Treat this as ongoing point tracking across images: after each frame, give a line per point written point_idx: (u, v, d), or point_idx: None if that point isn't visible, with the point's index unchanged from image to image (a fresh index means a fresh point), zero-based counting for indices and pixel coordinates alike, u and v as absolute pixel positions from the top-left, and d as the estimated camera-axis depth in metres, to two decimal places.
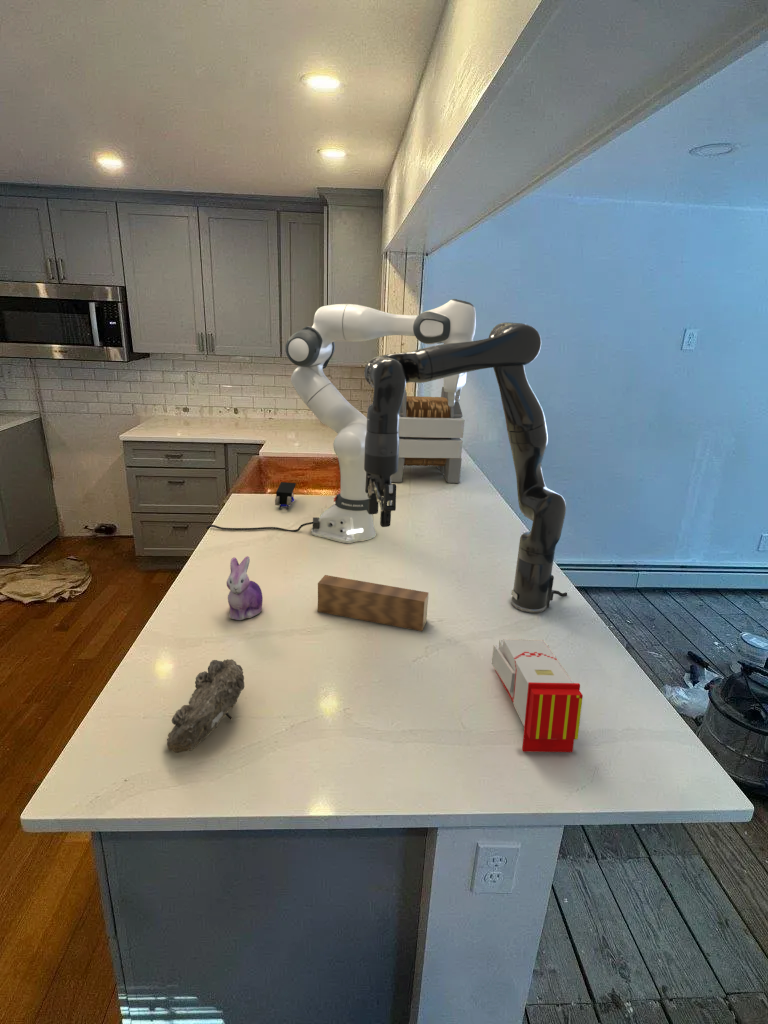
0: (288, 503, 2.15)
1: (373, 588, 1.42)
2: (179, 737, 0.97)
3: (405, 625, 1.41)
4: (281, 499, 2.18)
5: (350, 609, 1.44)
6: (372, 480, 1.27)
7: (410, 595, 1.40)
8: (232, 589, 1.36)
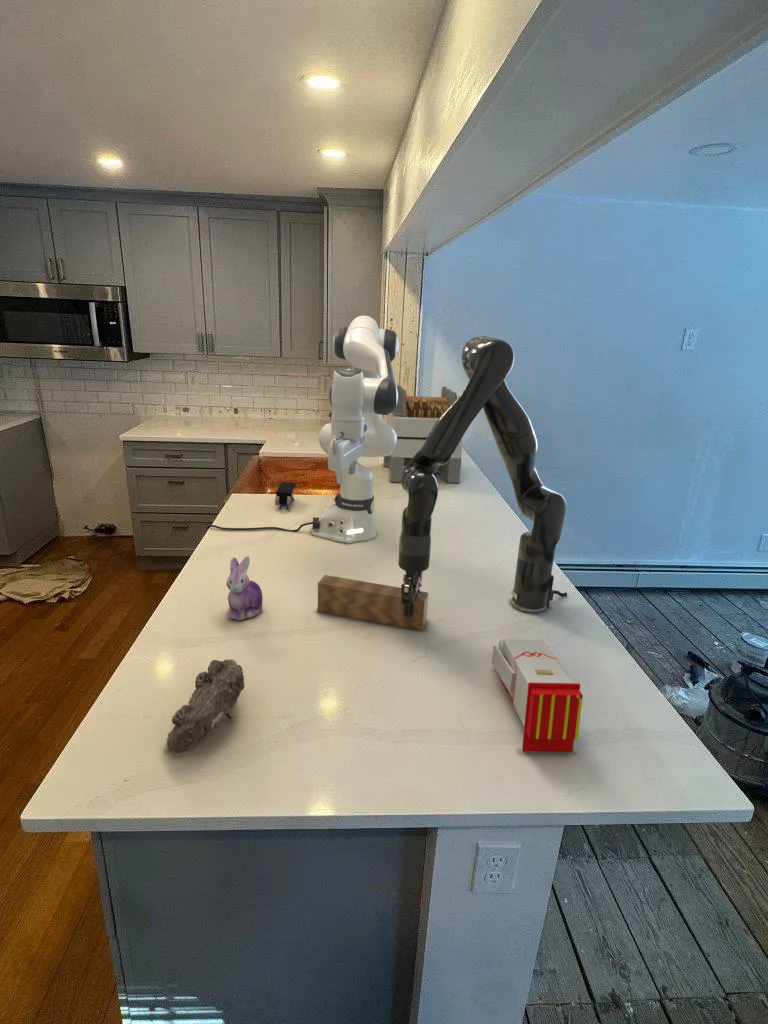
0: (288, 503, 2.15)
1: (373, 588, 1.42)
2: (179, 737, 0.97)
3: (405, 625, 1.41)
4: (281, 499, 2.18)
5: (350, 609, 1.44)
6: None
7: None
8: (232, 589, 1.36)
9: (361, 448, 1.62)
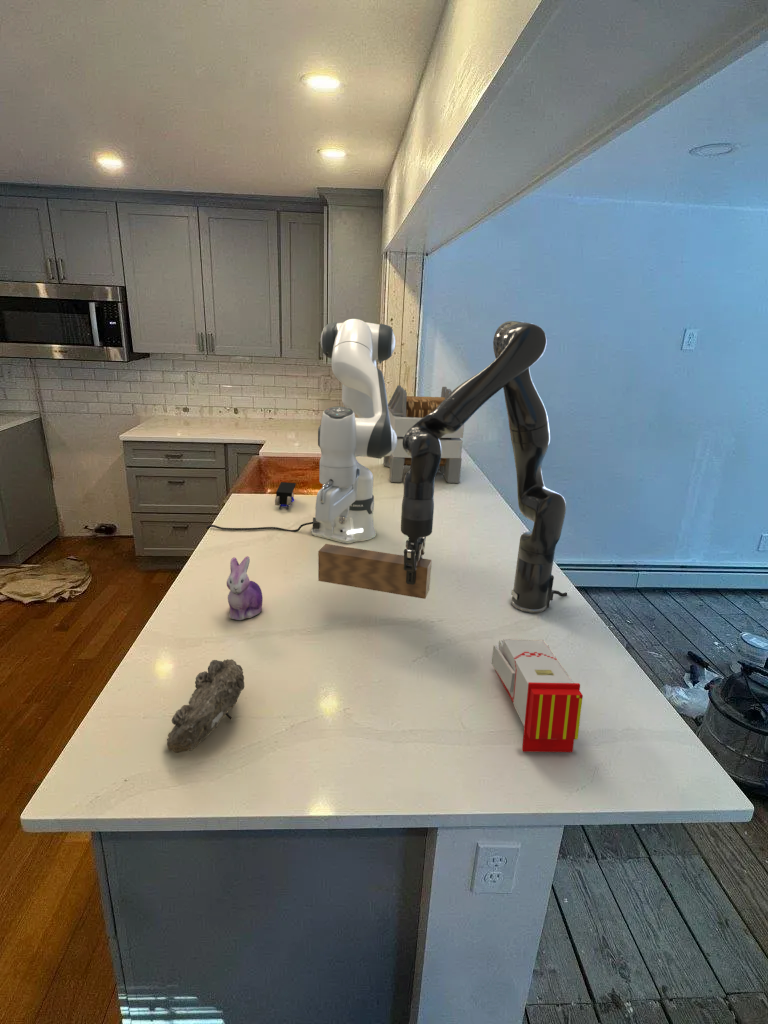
0: (288, 503, 2.15)
1: (375, 556, 1.39)
2: (179, 737, 0.97)
3: (407, 593, 1.38)
4: (281, 499, 2.18)
5: (351, 578, 1.41)
6: None
7: None
8: (232, 589, 1.36)
9: (354, 494, 1.47)
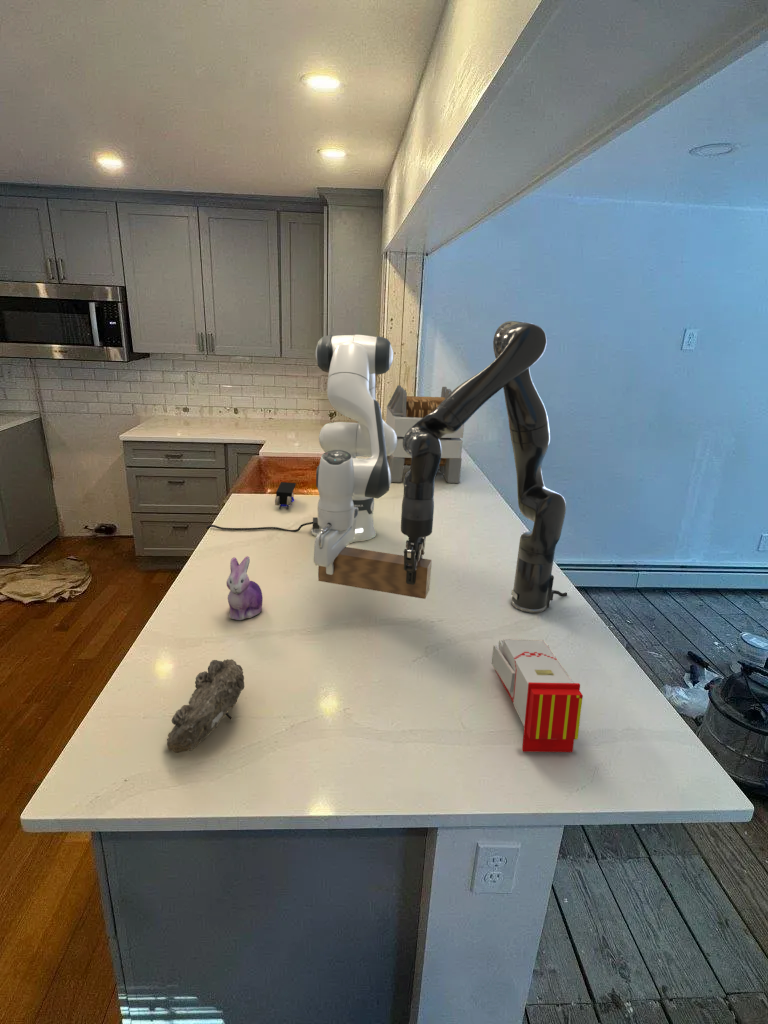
0: (288, 503, 2.15)
1: (375, 556, 1.39)
2: (179, 737, 0.97)
3: (407, 593, 1.38)
4: (281, 499, 2.18)
5: (351, 578, 1.41)
6: None
7: None
8: (232, 589, 1.36)
9: (352, 532, 1.48)
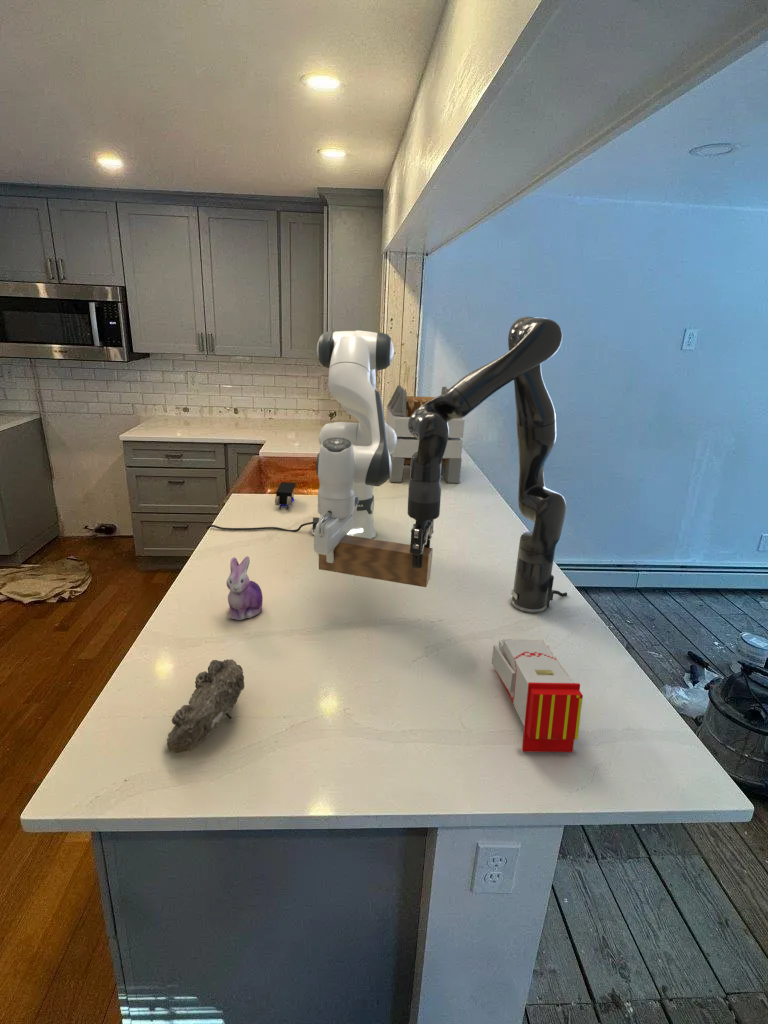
0: (288, 503, 2.15)
1: (375, 544, 1.39)
2: (179, 737, 0.97)
3: (408, 581, 1.37)
4: (281, 499, 2.18)
5: (351, 566, 1.40)
6: None
7: None
8: (232, 589, 1.36)
9: (352, 521, 1.47)
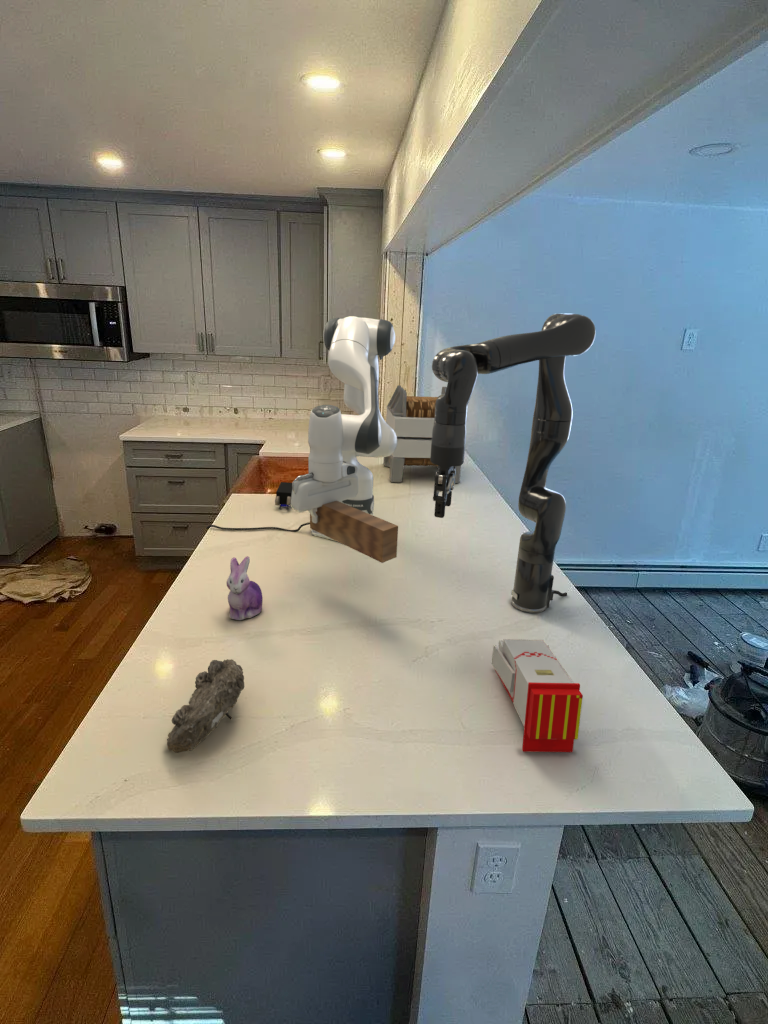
0: (288, 503, 2.15)
1: (351, 512, 1.42)
2: (179, 737, 0.97)
3: (369, 554, 1.37)
4: (281, 499, 2.18)
5: (330, 530, 1.46)
6: (439, 470, 1.29)
7: (378, 523, 1.36)
8: (232, 589, 1.36)
9: (352, 490, 1.53)
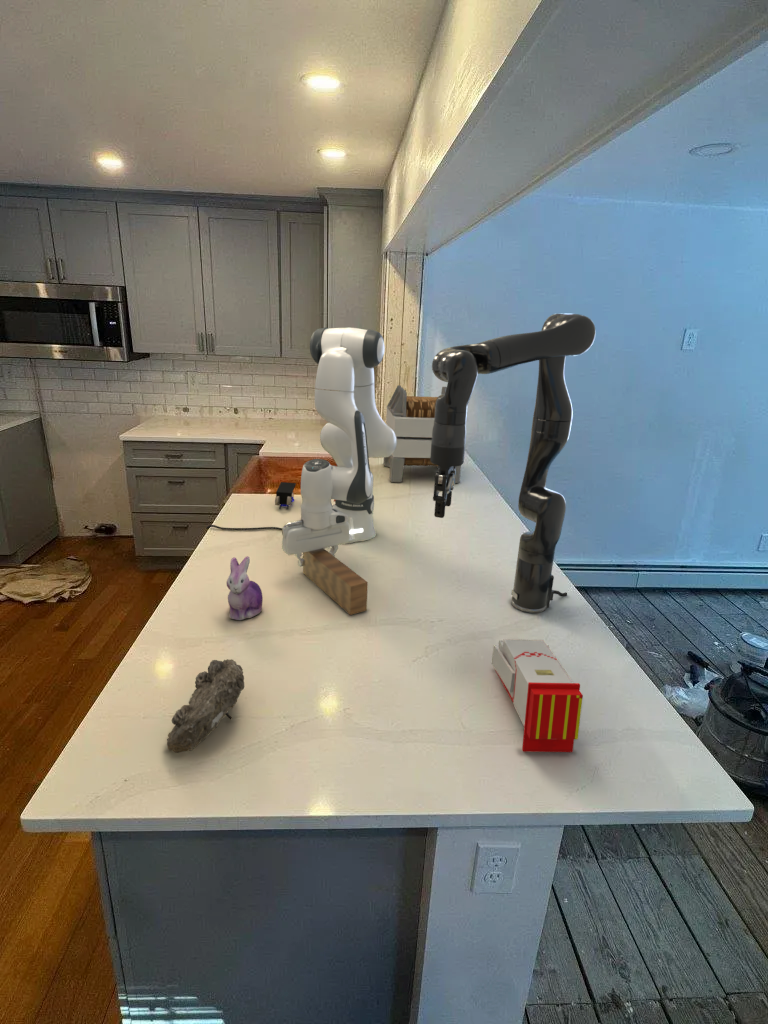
0: (288, 503, 2.15)
1: (332, 564, 1.55)
2: (179, 737, 0.97)
3: (341, 605, 1.49)
4: (281, 499, 2.18)
5: (316, 578, 1.60)
6: (439, 470, 1.29)
7: (350, 578, 1.47)
8: (232, 589, 1.36)
9: (343, 537, 1.64)
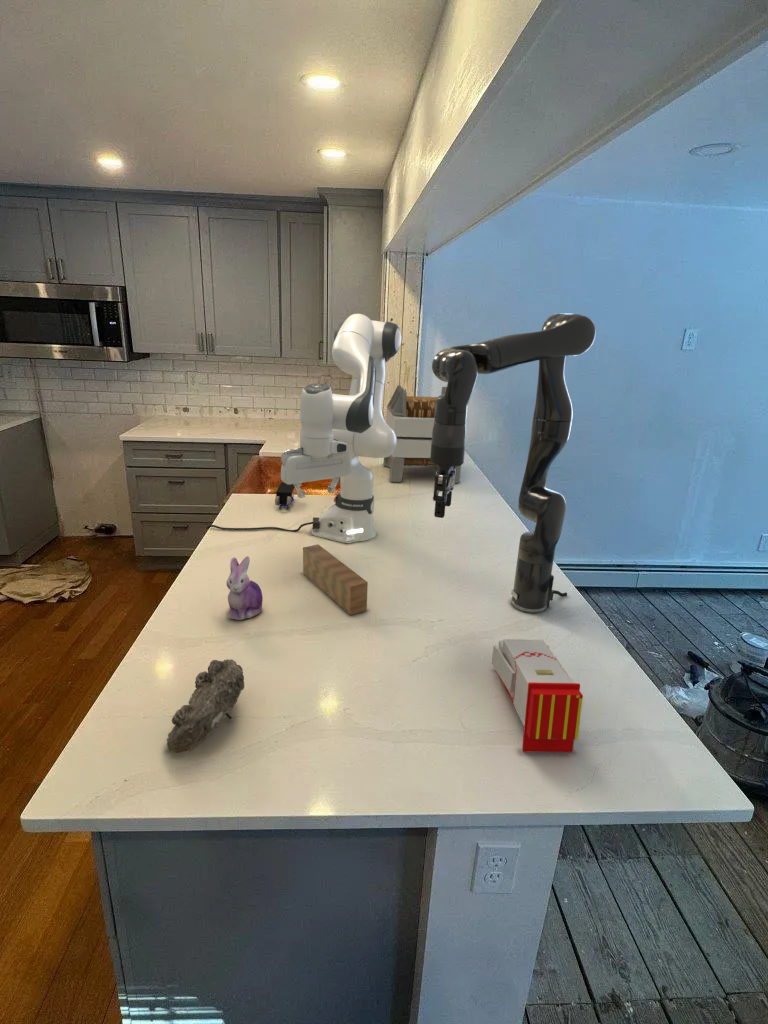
0: (288, 503, 2.15)
1: (332, 564, 1.55)
2: (179, 737, 0.97)
3: (341, 605, 1.49)
4: (281, 499, 2.18)
5: (316, 578, 1.60)
6: (439, 470, 1.29)
7: (350, 578, 1.47)
8: (232, 589, 1.36)
9: (344, 468, 1.58)
